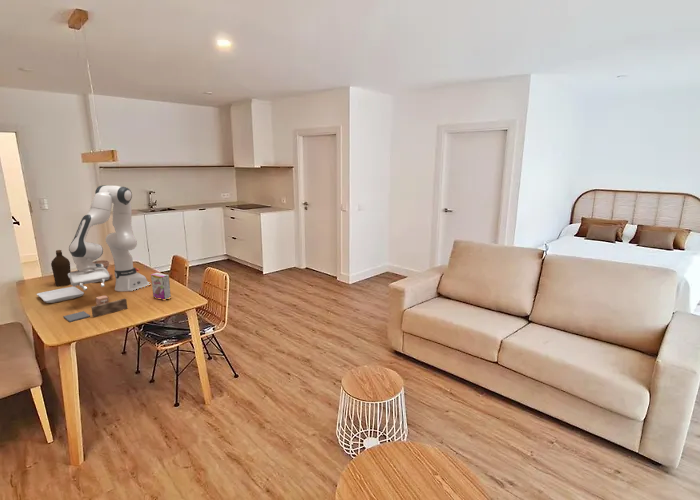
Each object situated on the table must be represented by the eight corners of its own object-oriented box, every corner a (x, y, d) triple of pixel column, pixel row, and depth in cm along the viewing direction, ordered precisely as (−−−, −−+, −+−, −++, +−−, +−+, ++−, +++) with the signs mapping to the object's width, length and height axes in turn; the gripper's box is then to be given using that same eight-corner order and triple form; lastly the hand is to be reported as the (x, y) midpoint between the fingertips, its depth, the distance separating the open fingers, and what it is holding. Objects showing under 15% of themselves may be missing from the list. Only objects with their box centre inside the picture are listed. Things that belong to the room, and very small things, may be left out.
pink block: (106, 307, 234) (104, 295, 232) (109, 309, 231) (108, 297, 229) (97, 310, 230) (95, 297, 229) (100, 312, 227) (99, 299, 225)
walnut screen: (125, 307, 235) (124, 298, 233) (127, 308, 233) (126, 299, 232) (92, 316, 221) (91, 306, 219) (94, 317, 220) (92, 307, 218)
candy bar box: (152, 298, 251) (150, 274, 248) (159, 296, 256) (157, 272, 252) (164, 301, 247) (162, 276, 243) (171, 298, 251) (169, 274, 248)
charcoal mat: (83, 312, 226) (83, 311, 226) (90, 316, 220) (90, 315, 220) (63, 317, 218) (63, 316, 218) (69, 322, 213) (69, 320, 212)
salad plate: (74, 290, 264) (74, 285, 263) (85, 297, 251) (85, 292, 250) (36, 298, 248) (35, 293, 247) (45, 306, 235) (44, 301, 234)
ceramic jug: (115, 280, 285) (113, 262, 282) (93, 284, 274) (90, 265, 272) (108, 276, 297) (106, 258, 294) (86, 279, 287) (84, 261, 284)
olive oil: (70, 285, 272) (65, 251, 266) (52, 287, 267) (47, 252, 262) (74, 281, 281) (69, 248, 275) (56, 283, 277) (51, 249, 271)
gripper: (67, 269, 227) (75, 289, 223) (105, 263, 243) (113, 281, 239) (65, 275, 230) (73, 294, 227) (103, 269, 246) (111, 287, 242)
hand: (94, 288), depth 233 cm, fingers open, 8 cm apart
